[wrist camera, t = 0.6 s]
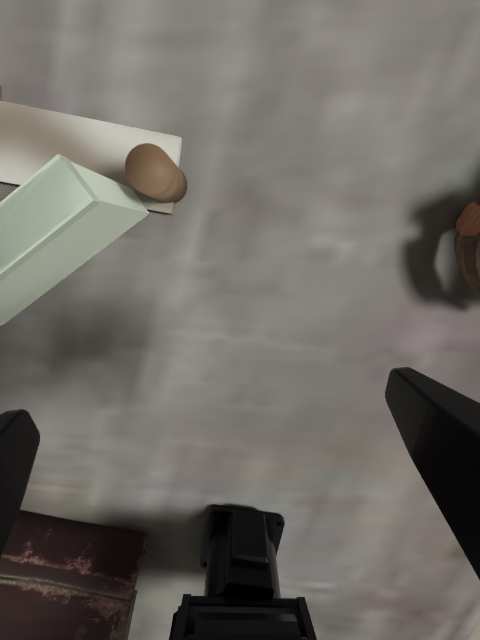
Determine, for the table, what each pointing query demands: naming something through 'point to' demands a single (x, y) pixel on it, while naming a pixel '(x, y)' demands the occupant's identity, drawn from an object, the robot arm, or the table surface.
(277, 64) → the table surface
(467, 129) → the table surface
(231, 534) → the robot arm
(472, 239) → the brown looped band
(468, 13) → the table surface
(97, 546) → the diary
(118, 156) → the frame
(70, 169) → the pale green flat panel
